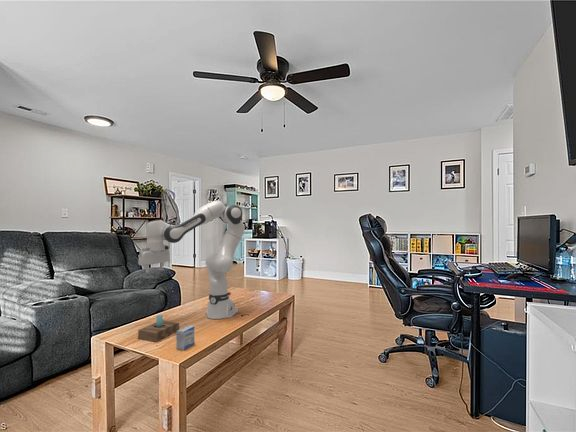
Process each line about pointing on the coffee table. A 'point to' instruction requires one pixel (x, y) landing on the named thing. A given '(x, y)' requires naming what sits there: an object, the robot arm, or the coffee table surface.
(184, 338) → the medicine box
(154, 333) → the hole block
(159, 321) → the peg
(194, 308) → the coffee table surface
